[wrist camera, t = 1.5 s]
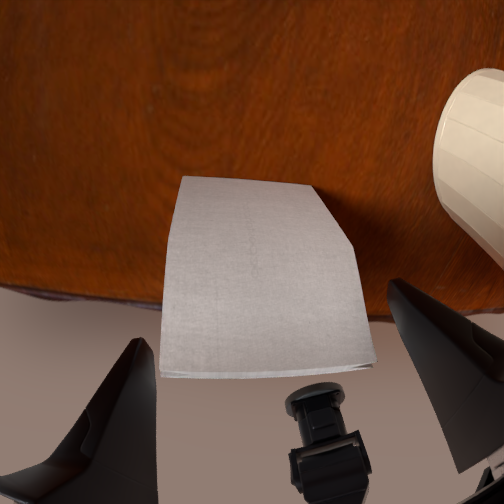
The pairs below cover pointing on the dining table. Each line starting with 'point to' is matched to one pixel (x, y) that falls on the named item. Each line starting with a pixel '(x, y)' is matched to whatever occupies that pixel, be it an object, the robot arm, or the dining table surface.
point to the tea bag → (259, 285)
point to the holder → (474, 159)
